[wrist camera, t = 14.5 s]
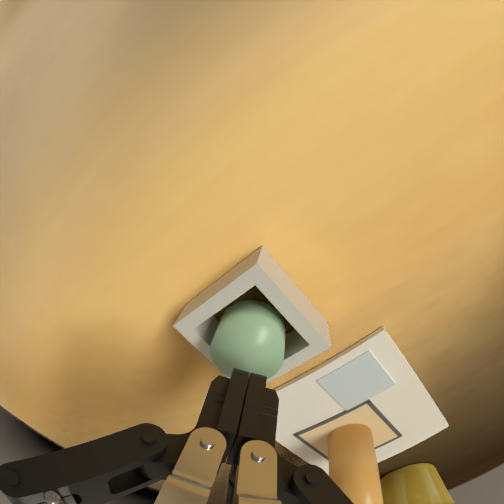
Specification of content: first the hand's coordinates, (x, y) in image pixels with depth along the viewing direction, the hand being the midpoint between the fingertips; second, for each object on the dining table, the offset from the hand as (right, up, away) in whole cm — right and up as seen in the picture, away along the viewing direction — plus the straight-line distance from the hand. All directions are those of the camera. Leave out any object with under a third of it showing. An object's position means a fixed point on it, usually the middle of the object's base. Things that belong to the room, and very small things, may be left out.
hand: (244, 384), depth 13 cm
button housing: (+1, +2, +5) cm, 6 cm away
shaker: (+8, -9, +8) cm, 14 cm away
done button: (0, +2, +4) cm, 4 cm away
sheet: (+8, -7, +8) cm, 14 cm away
